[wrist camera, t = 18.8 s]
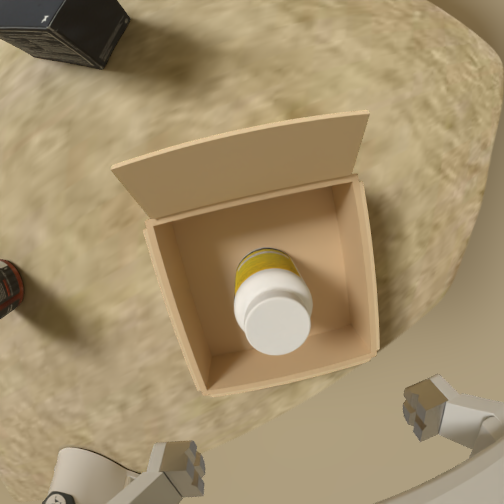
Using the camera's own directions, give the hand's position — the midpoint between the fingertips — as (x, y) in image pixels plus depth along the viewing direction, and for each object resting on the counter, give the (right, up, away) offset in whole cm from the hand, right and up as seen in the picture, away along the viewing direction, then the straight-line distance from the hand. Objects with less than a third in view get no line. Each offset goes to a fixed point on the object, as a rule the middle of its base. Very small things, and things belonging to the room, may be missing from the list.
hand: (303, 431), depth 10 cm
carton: (-1, +5, +18) cm, 19 cm away
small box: (-19, +28, +12) cm, 36 cm away
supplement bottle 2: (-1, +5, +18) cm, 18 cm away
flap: (-2, +11, +7) cm, 14 cm away
